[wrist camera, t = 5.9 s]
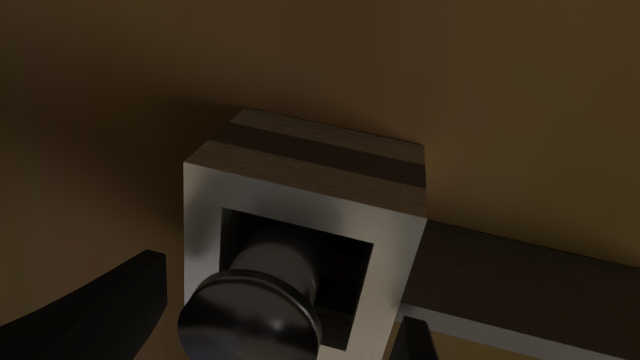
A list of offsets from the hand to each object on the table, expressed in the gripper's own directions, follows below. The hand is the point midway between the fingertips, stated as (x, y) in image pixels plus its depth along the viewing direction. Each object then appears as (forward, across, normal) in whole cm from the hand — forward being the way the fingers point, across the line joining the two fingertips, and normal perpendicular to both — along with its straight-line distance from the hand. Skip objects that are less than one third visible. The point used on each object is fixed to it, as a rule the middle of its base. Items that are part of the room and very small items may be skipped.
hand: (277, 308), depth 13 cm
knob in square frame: (+6, -5, +5) cm, 10 cm away
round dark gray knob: (+6, 0, 0) cm, 6 cm away
